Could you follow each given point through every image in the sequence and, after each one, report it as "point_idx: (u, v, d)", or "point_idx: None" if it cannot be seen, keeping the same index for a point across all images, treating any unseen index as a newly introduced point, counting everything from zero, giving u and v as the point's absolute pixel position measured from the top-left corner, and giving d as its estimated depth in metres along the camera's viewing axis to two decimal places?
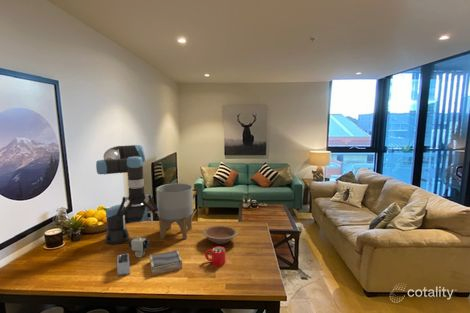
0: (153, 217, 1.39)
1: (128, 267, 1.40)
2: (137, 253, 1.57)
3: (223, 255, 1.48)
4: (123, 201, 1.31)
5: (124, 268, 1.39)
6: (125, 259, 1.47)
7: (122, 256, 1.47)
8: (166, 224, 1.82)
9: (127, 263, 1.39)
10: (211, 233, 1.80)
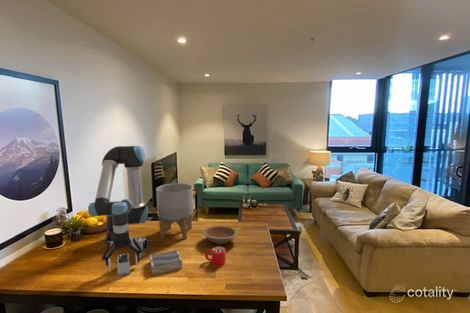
0: (138, 259, 1.45)
1: (128, 267, 1.40)
2: None
3: (223, 255, 1.48)
4: (108, 245, 1.38)
5: (124, 268, 1.39)
6: (125, 259, 1.47)
7: (122, 256, 1.47)
8: (166, 224, 1.82)
9: (127, 263, 1.39)
10: (211, 233, 1.80)
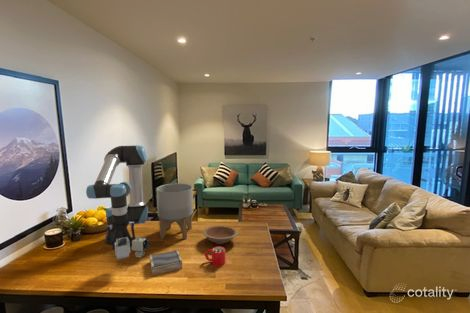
0: (130, 246, 1.43)
1: (127, 250, 1.39)
2: (137, 253, 1.57)
3: (223, 255, 1.48)
4: (108, 230, 1.37)
5: (123, 251, 1.38)
6: (124, 243, 1.46)
7: (121, 240, 1.46)
8: (166, 224, 1.82)
9: (126, 246, 1.38)
10: (211, 233, 1.80)
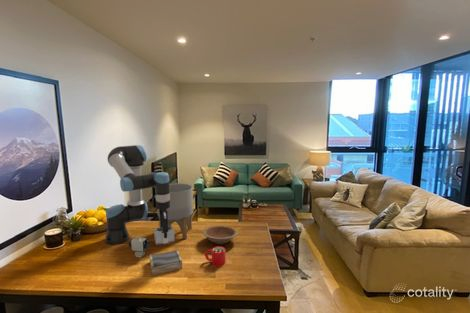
0: (164, 237, 1.42)
1: (155, 237, 1.42)
2: (137, 253, 1.57)
3: (223, 255, 1.48)
4: None
5: None
6: None
7: (171, 229, 1.47)
8: None
9: (155, 233, 1.42)
10: (211, 233, 1.80)
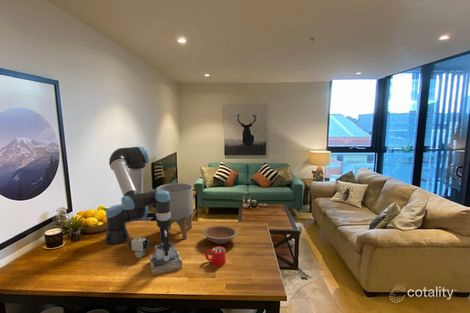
0: (165, 255, 1.42)
1: (156, 255, 1.43)
2: (137, 253, 1.57)
3: (223, 255, 1.48)
4: None
5: (155, 253, 1.45)
6: None
7: (172, 246, 1.49)
8: None
9: (155, 251, 1.43)
10: (211, 233, 1.80)
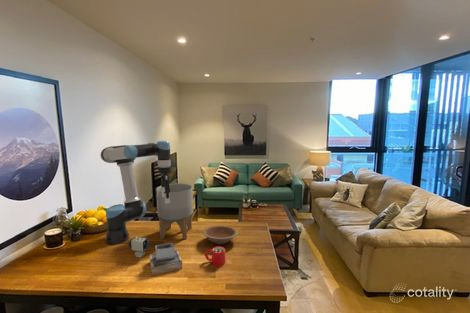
0: (166, 197, 1.54)
1: (156, 255, 1.43)
2: (137, 253, 1.57)
3: (223, 255, 1.48)
4: (161, 175, 1.65)
5: (155, 253, 1.45)
6: None
7: (172, 246, 1.49)
8: (166, 224, 1.82)
9: (155, 251, 1.43)
10: (211, 233, 1.80)
